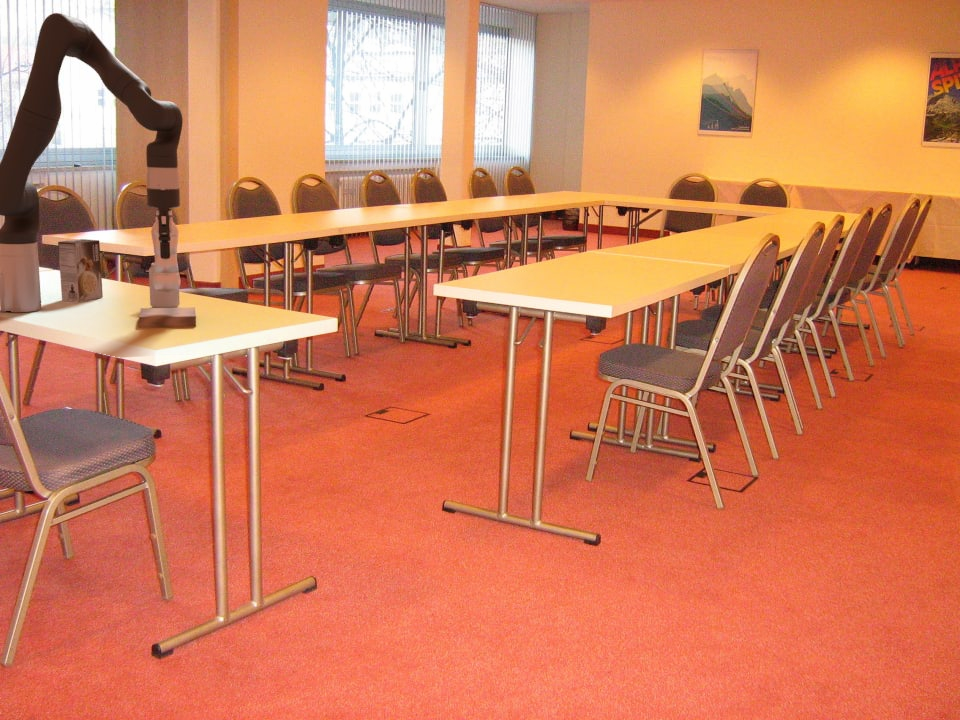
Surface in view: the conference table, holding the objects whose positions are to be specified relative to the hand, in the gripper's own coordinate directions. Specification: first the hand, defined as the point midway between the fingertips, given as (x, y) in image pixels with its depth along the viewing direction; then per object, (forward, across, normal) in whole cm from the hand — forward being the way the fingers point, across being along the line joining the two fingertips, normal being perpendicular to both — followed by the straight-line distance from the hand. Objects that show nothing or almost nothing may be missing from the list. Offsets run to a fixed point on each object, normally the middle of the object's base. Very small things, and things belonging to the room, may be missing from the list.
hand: (165, 256), depth 242 cm
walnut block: (+16, 0, 0) cm, 16 cm away
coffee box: (+16, -39, -23) cm, 48 cm away
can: (+16, -22, -1) cm, 27 cm away
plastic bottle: (+9, 0, 0) cm, 9 cm away
